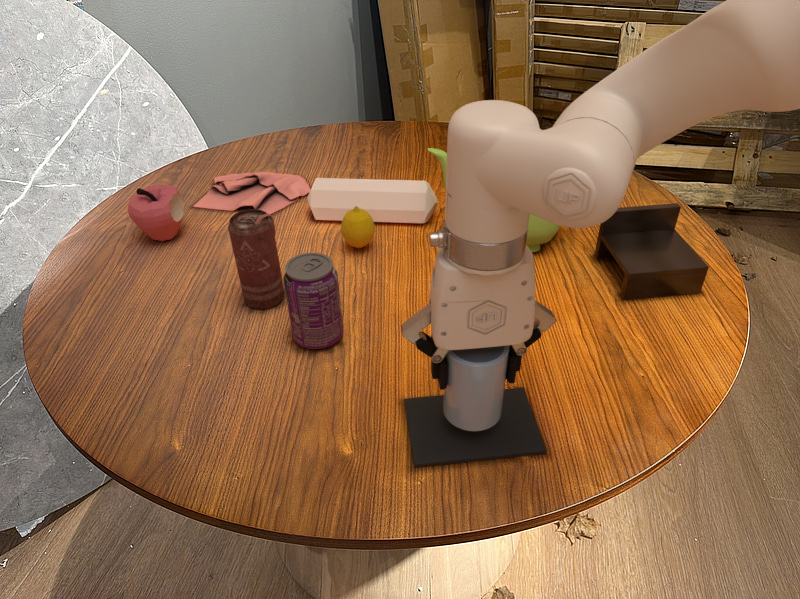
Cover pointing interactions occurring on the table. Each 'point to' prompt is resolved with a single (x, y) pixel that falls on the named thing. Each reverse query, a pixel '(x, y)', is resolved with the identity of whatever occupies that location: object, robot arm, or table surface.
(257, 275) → the can
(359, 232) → the fruit
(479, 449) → the mat
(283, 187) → the cloth
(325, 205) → the crystal
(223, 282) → the table surface
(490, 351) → the blue cup
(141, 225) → the apple
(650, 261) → the shelf
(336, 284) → the beverage can
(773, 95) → the robot arm
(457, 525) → the table surface
